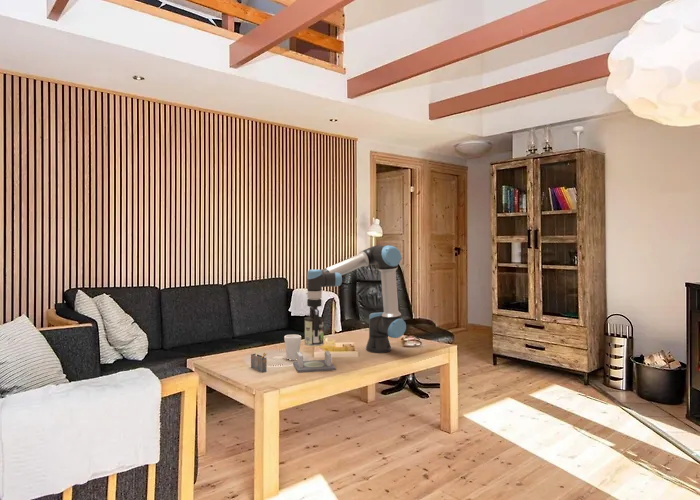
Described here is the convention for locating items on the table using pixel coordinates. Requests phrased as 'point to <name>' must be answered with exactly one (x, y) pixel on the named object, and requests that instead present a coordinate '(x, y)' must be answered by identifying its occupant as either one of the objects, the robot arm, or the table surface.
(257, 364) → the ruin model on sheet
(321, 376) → the table surface
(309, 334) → the coffee can
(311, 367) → the holder
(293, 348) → the foam cup
